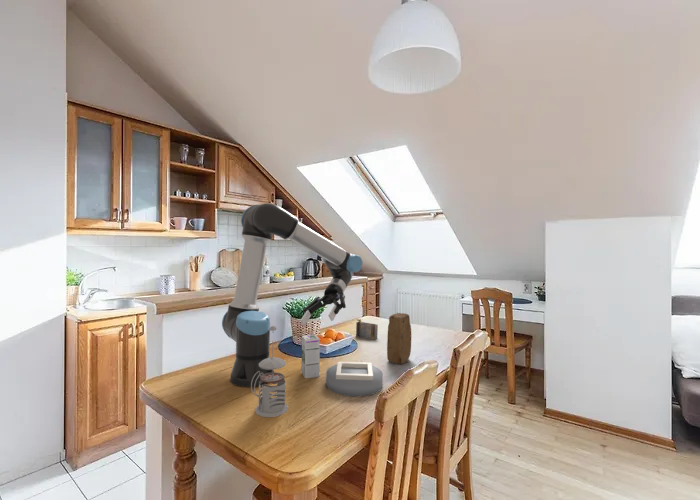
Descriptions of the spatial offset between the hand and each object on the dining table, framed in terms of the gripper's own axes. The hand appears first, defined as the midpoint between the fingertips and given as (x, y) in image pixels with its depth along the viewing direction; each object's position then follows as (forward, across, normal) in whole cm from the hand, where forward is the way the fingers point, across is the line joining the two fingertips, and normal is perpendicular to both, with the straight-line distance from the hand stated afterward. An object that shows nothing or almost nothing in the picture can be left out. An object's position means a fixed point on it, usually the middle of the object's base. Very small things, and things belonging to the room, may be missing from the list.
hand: (316, 320), depth 137 cm
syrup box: (+15, +2, -13) cm, 20 cm away
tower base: (+16, -15, -18) cm, 28 cm away
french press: (+41, -2, -1) cm, 41 cm away
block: (-10, -20, -34) cm, 41 cm away
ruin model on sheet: (-35, +6, -39) cm, 53 cm away
